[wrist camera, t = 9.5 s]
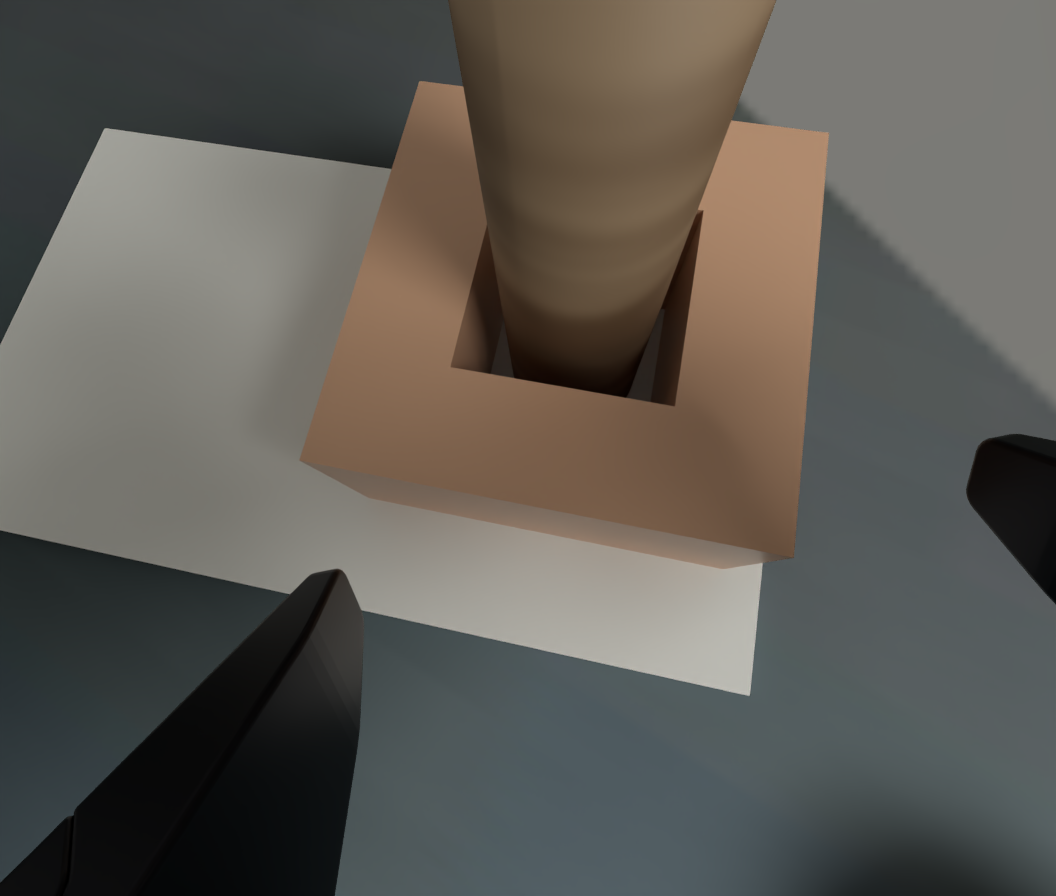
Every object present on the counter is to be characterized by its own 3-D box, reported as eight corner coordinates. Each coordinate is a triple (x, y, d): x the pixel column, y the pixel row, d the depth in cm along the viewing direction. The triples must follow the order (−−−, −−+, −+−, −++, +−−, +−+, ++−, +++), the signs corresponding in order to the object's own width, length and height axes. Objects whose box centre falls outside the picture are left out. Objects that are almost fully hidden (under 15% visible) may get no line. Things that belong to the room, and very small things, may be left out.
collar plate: (743, 692, 15) (838, 740, 10) (-63, 514, 17) (-311, 481, 12) (788, 236, 18) (874, 104, 13) (115, 139, 20) (-22, -5, 15)
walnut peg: (623, 435, 16) (885, -155, 3) (501, 413, 16) (334, -198, 4) (642, 324, 17) (904, -472, 4) (526, 305, 17) (456, -484, 5)
